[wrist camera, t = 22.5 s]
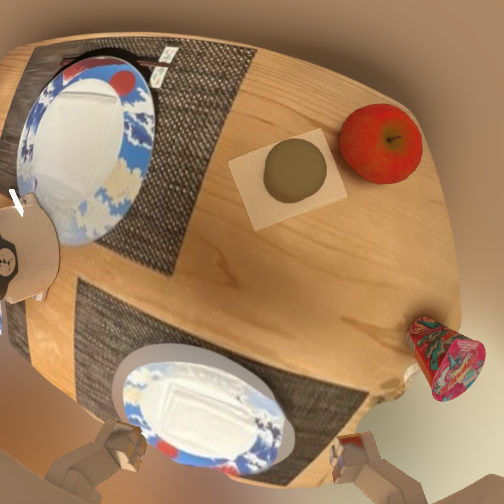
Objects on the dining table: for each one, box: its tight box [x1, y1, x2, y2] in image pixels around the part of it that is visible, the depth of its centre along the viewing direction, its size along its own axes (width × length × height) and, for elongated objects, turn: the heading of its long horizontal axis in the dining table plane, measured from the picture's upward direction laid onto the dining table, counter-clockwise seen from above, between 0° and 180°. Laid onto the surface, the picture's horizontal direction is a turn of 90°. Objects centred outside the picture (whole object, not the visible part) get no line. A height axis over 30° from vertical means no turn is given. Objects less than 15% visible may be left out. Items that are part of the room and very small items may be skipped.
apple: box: [339, 104, 423, 184], centre depth 25 cm, size 9×8×11 cm
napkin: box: [227, 128, 348, 232], centre depth 31 cm, size 12×9×1 cm
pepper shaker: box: [263, 138, 327, 204], centre depth 26 cm, size 6×6×11 cm
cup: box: [406, 316, 486, 402], centre depth 28 cm, size 9×8×12 cm
